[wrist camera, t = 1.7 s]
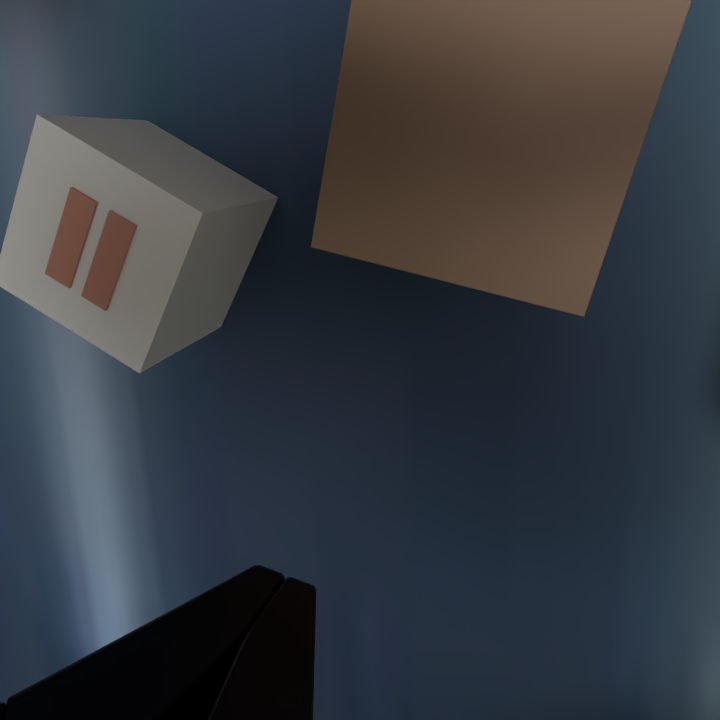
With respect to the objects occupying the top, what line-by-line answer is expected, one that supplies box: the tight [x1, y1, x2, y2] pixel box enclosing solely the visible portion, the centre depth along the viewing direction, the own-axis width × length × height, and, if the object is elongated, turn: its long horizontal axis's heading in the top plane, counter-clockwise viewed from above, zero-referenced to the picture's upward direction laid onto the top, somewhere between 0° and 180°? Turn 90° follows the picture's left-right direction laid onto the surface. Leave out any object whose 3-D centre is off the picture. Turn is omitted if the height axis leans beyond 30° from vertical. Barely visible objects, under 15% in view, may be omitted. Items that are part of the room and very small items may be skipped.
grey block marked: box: [0, 114, 278, 373], centre depth 19 cm, size 5×5×5 cm
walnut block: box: [311, 0, 691, 317], centre depth 16 cm, size 7×7×4 cm
